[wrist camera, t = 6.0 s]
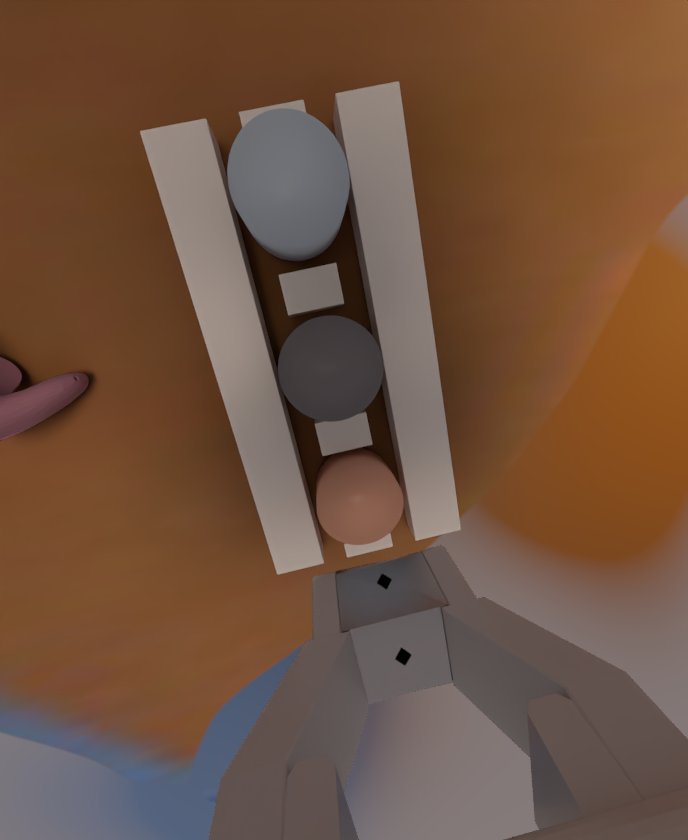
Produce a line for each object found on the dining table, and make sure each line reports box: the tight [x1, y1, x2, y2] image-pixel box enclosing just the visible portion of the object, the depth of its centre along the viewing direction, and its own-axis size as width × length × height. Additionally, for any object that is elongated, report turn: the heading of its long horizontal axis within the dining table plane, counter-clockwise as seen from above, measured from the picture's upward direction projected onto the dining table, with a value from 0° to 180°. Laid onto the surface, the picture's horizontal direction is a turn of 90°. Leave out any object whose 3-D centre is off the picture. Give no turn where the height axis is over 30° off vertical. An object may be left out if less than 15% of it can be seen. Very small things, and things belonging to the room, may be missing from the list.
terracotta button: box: [316, 448, 404, 545], centre depth 21 cm, size 5×5×3 cm
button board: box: [140, 81, 461, 575], centre depth 19 cm, size 24×12×2 cm, turn 12°
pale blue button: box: [227, 108, 350, 261], centre depth 15 cm, size 5×5×3 cm
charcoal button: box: [278, 315, 383, 422], centre depth 18 cm, size 5×5×3 cm
